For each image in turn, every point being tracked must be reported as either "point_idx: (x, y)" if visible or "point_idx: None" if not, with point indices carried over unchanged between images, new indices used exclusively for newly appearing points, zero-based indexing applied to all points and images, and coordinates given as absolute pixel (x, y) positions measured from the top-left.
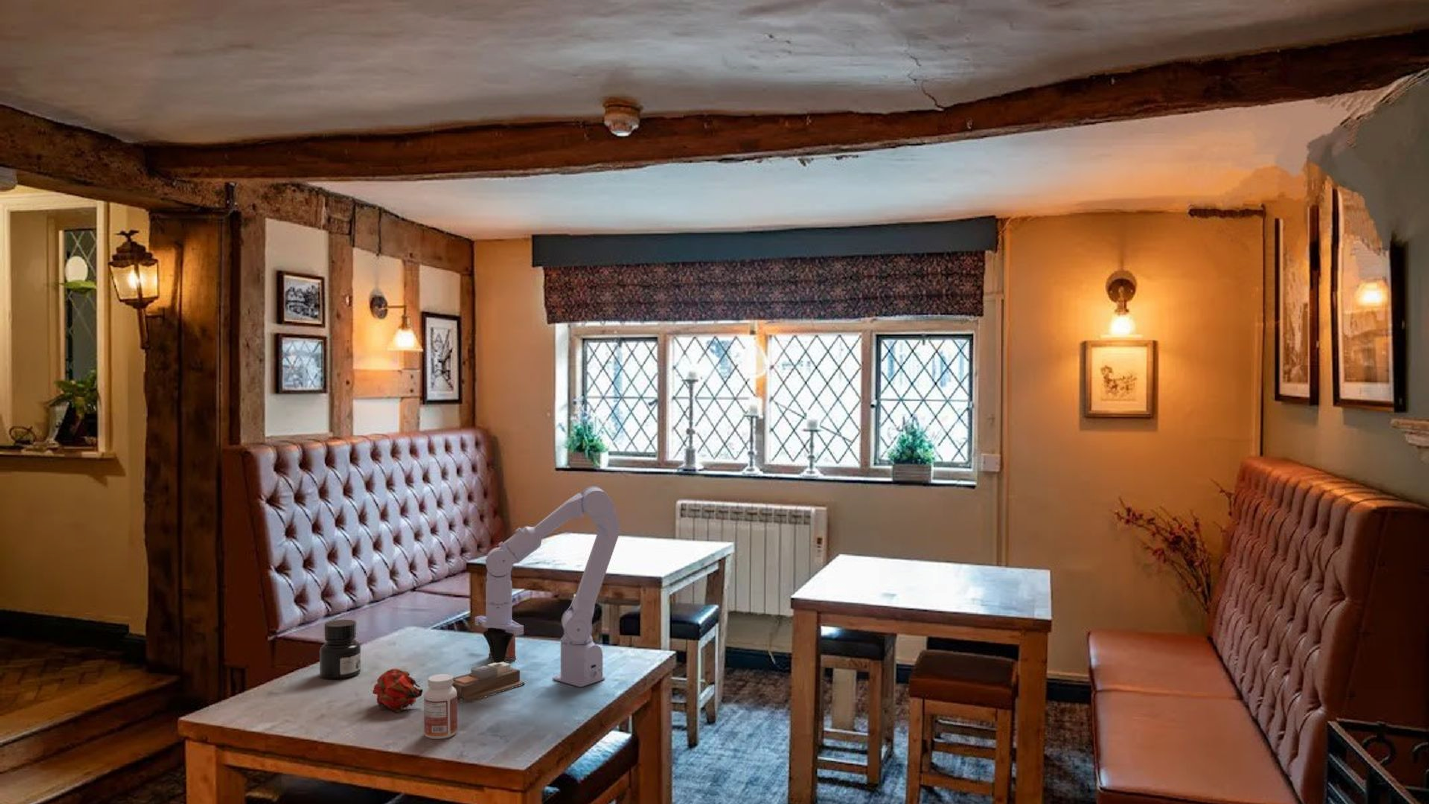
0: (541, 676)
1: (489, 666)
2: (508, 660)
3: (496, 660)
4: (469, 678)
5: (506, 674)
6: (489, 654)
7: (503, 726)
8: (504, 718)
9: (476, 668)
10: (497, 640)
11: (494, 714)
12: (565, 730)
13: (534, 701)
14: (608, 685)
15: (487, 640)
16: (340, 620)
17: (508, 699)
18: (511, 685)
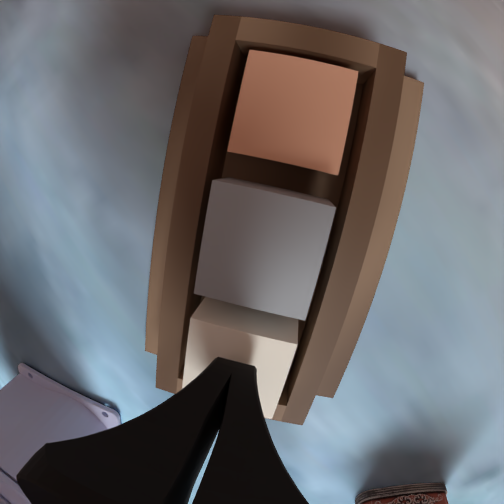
0: None
1: (275, 335)
2: (371, 493)
3: (211, 362)
4: (284, 128)
5: (160, 315)
6: (443, 490)
7: (5, 6)
8: (17, 34)
9: (313, 243)
10: (73, 439)
11: (49, 29)
12: None
13: (16, 199)
14: None
15: (272, 481)
16: None
17: (82, 164)
18: (155, 294)
